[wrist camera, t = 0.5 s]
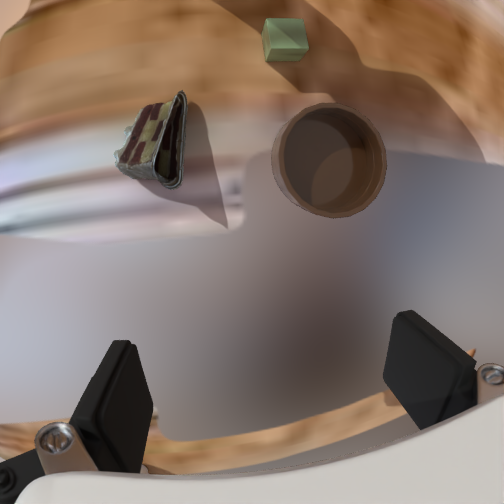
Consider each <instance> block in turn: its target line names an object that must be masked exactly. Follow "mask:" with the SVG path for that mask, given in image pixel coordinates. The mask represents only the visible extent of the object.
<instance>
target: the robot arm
mask: <svg viewBox="0 0 504 504" xmlns="http://www.w3.org/2000/svg"><path fill="white" fill-rule="evenodd" d="M475 365H476V361H475V360H474V359H473V358H472V357H471V356H470V355H468V354H467V353H466V352H465V351H463V350H462V349H461V348H460V347H459V346H457V345H456V344H455V343H454V342H452V341H451V340H450V339H449V338H448V337H446V336H445V335H444V334H443V333H441V332H440V331H439V330H437V329H436V328H435V327H434V326H432V325H431V324H430V323H429V322H427V321H426V320H425V319H424V318H422V317H421V316H420V315H418V314H417V313H416V312H415V311H413V310H408V311H403V312H399V313H398V314H397V316H396V317H394V319H393V324H392V330H391V336H390V342H389V347H388V352H387V357H386V362H385V367H384V372H383V379H384V381H385V383H386V384H387V386H388V387H389V388H390V390H391V391H392V392H393V394H394V395H395V396H396V398H397V399H398V400H399V402H400V403H401V404H402V406H403V407H404V408H405V410H406V411H407V413H408V414H409V415H410V416H411V418H412V419H413V421H414V422H415V423H416V425H417V426H418V427H419V429H420V431H418V432H415V433H413V434H410V435H407V436H405V437H402V438H399V439H396V440H393V441H390V442H387V443H384V444H381V445H378V446H375V447H372V448H369V449H365V450H362V451H358V452H355V453H351V454H347V455H344V456H339V457H336V458H331V459H326V460H322V461H318V462H312V463H307V464H302V465H296V466H290V467H284V468H278V469H271V470H263V471H254V472H244V473H232V474H214V475H155V474H140V472H141V466H142V461H143V456H144V451H145V446H146V441H147V436H148V432H149V427H150V422H151V418H152V413H153V401H152V398H151V395H150V392H149V389H148V385H147V382H146V379H145V375H144V372H143V368H142V365H141V361H140V358H139V354H138V350H137V347H136V345H135V344H131V342H130V341H129V340H114V341H113V342H112V344H111V346H110V347H109V349H108V351H107V353H106V354H105V356H104V358H103V360H102V362H101V364H100V365H99V367H98V369H97V371H96V373H95V375H94V376H93V377H92V378H91V380H90V382H89V384H88V386H87V388H86V390H85V391H84V393H83V395H82V397H81V399H80V401H79V403H78V405H77V407H76V409H75V411H74V413H73V415H72V417H71V419H70V421H69V423H64V422H54V423H50V424H48V425H46V426H44V427H42V428H41V429H40V430H39V431H38V433H37V434H36V436H35V440H34V441H35V447H36V448H35V449H33V450H30V451H28V452H26V453H23V454H21V455H18V456H16V457H13V458H11V459H8V460H6V461H3V462H1V463H0V504H504V367H503V366H500V365H498V364H494V363H487V364H483V365H482V366H480V367H479V368H478V370H477V371H476V370H475V369H474V368H475Z"/></svg>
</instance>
